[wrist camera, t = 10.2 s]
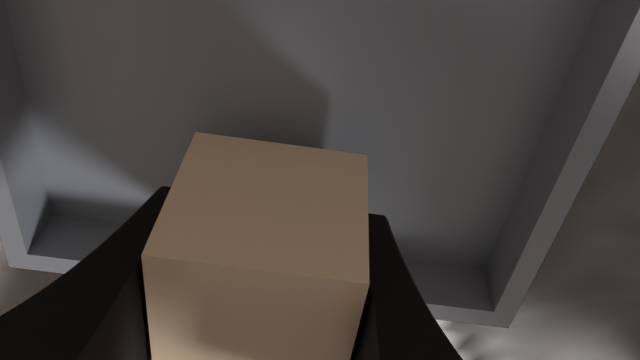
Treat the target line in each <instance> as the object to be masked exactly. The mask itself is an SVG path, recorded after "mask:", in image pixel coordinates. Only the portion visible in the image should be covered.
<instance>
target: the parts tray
mask: <svg viewBox="0 0 640 360" xmlns="http://www.w3.org/2000/svg"><path fill="white" fill-rule="evenodd" d="M639 74H640V0H0V239H1V242H2V245H3V248H4V252H5V255H6V258H7V261H8V264H9V267H13V268H22V269H30V270H38V271H46V272H54V273H62V274H65V273H66V272H67V271H69V270H70V269H71V268H72V267H74V266H75V265H76V264H77V263H79V262H80V261H81V260H82V259H84V258H85V257H86V256H87V255H88V254H90V253H91V252H92V251H93V250H94V249H96V248H97V247H98V246H99V245H100V244H102V243H103V242H104V241H105V240H106V239H107V238H108V237H109V236H110V235H111V234H113V233H114V232H115V231H116V230H117V229H118V228H119V227H120V226H121V225H122V224H123V223H125V222H126V221H127V220H128V219H129V218H130V217H131V216H132V215H133V214H134V213H135V212H136V211H137V210H138V209H139V208H140V207H141V206H142V205H143V204H144V203H145V202H146V201H147V200H148V199H149V198H150V197H151V196H152V195H153V194H154V193H155V192H156V191H157V190H158V189H159V188H160V187H162V186H167V187H171V186H172V184H173V182H174V179H175V177H176V175H177V173H178V170H179V168H180V166H181V163H182V161H183V159H184V157H185V154H186V152H187V150H188V148H189V145H190V143H191V141H192V138H193V136H194V134H195V132H199V133H207V134H214V135H222V136H229V137H237V138H244V139H252V140H259V141H267V142H274V143H282V144H289V145H297V146H304V147H312V148H319V149H327V150H334V151H342V152H349V153H357V154H364V155H367V167H368V213H371V214H378V215H385V217H386V218H387V219H388V221H389V225H390V227H391V230H392V233H393V236H394V238H395V241H396V243H397V246H398V248H399V251H400V253H401V255H402V258H403V260H404V262H405V264H406V266H407V268H408V270H409V272H410V274H411V276H412V278H413V280H414V282H415V284H416V286H417V288H418V290H419V292H420V294H421V296H422V298H423V299H424V301H425V303H426V305H427V306H428V308H429V310H430V312H431V313H432V315H433V317H434V318H435V319H438V320H446V321H454V322H462V323H471V324H479V325H487V326H495V327H503V328H509V326H510V324H511V322H512V320H513V318H514V316H515V314H516V312H517V311H518V309H519V307H520V305H521V303H522V301H523V299H524V297H525V295H526V293H527V291H528V289H529V287H530V285H531V283H532V281H533V280H534V278H535V276H536V274H537V272H538V270H539V268H540V266H541V264H542V262H543V260H544V258H545V256H546V254H547V252H548V251H549V249H550V247H551V245H552V243H553V241H554V239H555V237H556V235H557V233H558V231H559V229H560V227H561V225H562V223H563V221H564V220H565V218H566V216H567V214H568V212H569V210H570V208H571V206H572V204H573V202H574V200H575V198H576V196H577V194H578V192H579V190H580V189H581V187H582V185H583V183H584V181H585V179H586V177H587V175H588V173H589V171H590V169H591V167H592V165H593V163H594V161H595V160H596V158H597V156H598V154H599V152H600V150H601V148H602V146H603V144H604V142H605V140H606V138H607V136H608V134H609V132H610V130H611V129H612V127H613V125H614V123H615V121H616V119H617V117H618V115H619V113H620V111H621V109H622V107H623V105H624V103H625V101H626V99H627V98H628V96H629V94H630V92H631V90H632V88H633V86H634V84H635V82H636V80H637V78H638V76H639Z"/></svg>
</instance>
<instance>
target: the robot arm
mask: <svg viewBox="0 0 640 360" xmlns="http://www.w3.org/2000/svg"><path fill="white" fill-rule="evenodd" d="M170 189H171V187H167V186H162V187H160V188H159V189H158V190H157V191H156V192H155V193H154V194H153V195H152V196H151V197H150V198H149V199H148V200H147V201H146V202H145V203H144V204H143V205H142V206H141V207H140V208H139V209H138V210H137V211H136V212H135V213H134V214H133V215H132V216H131V217H130V218H129V219H128V220H127V221H126V222H125V223H123V224H122V225H121V226H120V227H119V228H118V229H117V230H116V231H115V232H114V233H113V234H111V235H110V236H109V237H108V238H107V239H106V240H105V241H104V242H103V243H102V244H100V245H99V246H98V247H97V248H96V249H94V250H93V251H92V252H91V253H90V254H88V255H87V256H86V257H85V258H84V259H82V260H81V261H80V262H79V263H77V264H76V265H75V266H74V267H72V268H71V269H70V270H69V271H67V272H66V273H65V274H63V275H62V276H61V277H59V278H58V279H57V280H55V281H54V282H52V283H51V284H50V285H48V286H47V287H45V288H44V289H42V290H41V291H39V292H38V293H37V294H35V295H34V296H32V297H30V298H29V299H27V300H26V301H24V302H23V303H21V304H19V305H18V306H16V307H15V308H13V309H11V310H10V311H8V312H6V313H5V314H3V315H1V316H0V360H151V359H152V356H151V346H150V337H149V327H148V317H147V307H146V297H145V287H144V278H143V268H142V258H141V254H142V252H143V250H144V248H145V245H146V243H147V241H148V239H149V236H150V234H151V232H152V229H153V227H154V225H155V223H156V220H157V218H158V216H159V214H160V211H161V209H162V207H163V204H164V202H165V200H166V198H167V195H168V193H169V191H170ZM368 226H369V288H368V292H367V296H366V300H365V304H364V307H363V311H362V315H361V319H360V323H359V327H358V331H357V335H356V339H355V342H354V346H353V350H352V354H351V358H350V360H463V359H462V358H461V357H460V355H459V354H458V353H457V351H456V350H455V349H454V347H453V346H452V344H451V343H450V341H449V340H448V338H447V337H446V335H445V334H444V332H443V331H442V329H441V328H440V326H439V325H438V323H437V321H436V320H435V318H434V317H433V315H432V313H431V312H430V310H429V308H428V306H427V305H426V303H425V301H424V299H423V298H422V296H421V294H420V292H419V290H418V288H417V286H416V284H415V282H414V280H413V278H412V276H411V274H410V272H409V270H408V268H407V266H406V264H405V262H404V260H403V258H402V255H401V253H400V251H399V248H398V246H397V243H396V241H395V238H394V236H393V233H392V230H391V227H390V225H389V221H388V219H387V218H386V217H385V215H378V214H371V213H368Z"/></svg>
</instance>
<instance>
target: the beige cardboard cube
mask: <svg viewBox="0 0 640 360" xmlns="http://www.w3.org/2000/svg"><path fill="white" fill-rule="evenodd" d="M141 258H142V268H143V278H144V287H145V297H146V307H147V317H148V327H149V337H150V346H151V356H152V360H350V358H351V354H352V350H353V346H354V342H355V339H356V335H357V331H358V327H359V323H360V319H361V315H362V311H363V307H364V304H365V300H366V296H367V292H368V288H369V226H368V167H367V155H364V154H357V153H349V152H342V151H334V150H327V149H319V148H312V147H304V146H297V145H289V144H282V143H274V142H267V141H259V140H252V139H244V138H237V137H229V136H222V135H214V134H207V133H199V132H195V134H194V136H193V138H192V141H191V143H190V145H189V148H188V150H187V152H186V154H185V157H184V159H183V161H182V163H181V166H180V168H179V170H178V173H177V175H176V177H175V179H174V182H173V184H172V186H171V189H170V191H169V193H168V195H167V198H166V200H165V202H164V204H163V207H162V209H161V211H160V214H159V216H158V218H157V220H156V223H155V225H154V227H153V229H152V232H151V234H150V236H149V239H148V241H147V243H146V245H145V248H144V250H143V252H142V254H141Z"/></svg>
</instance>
